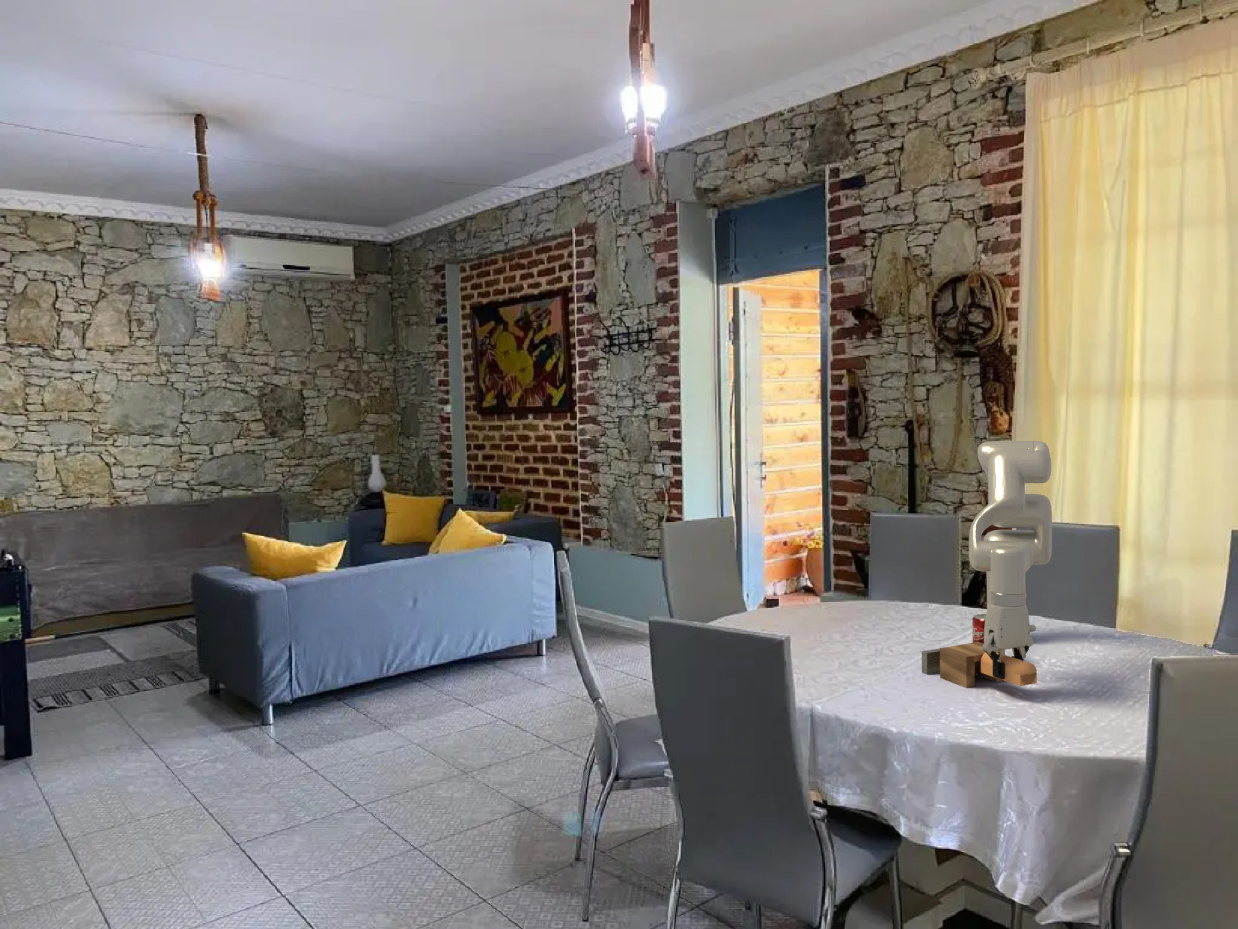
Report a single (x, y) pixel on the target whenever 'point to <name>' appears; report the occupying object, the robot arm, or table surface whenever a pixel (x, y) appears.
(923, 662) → the rail
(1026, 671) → the dowel
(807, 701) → the table surface
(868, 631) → the table surface
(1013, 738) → the table surface
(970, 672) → the block
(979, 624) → the soda can
